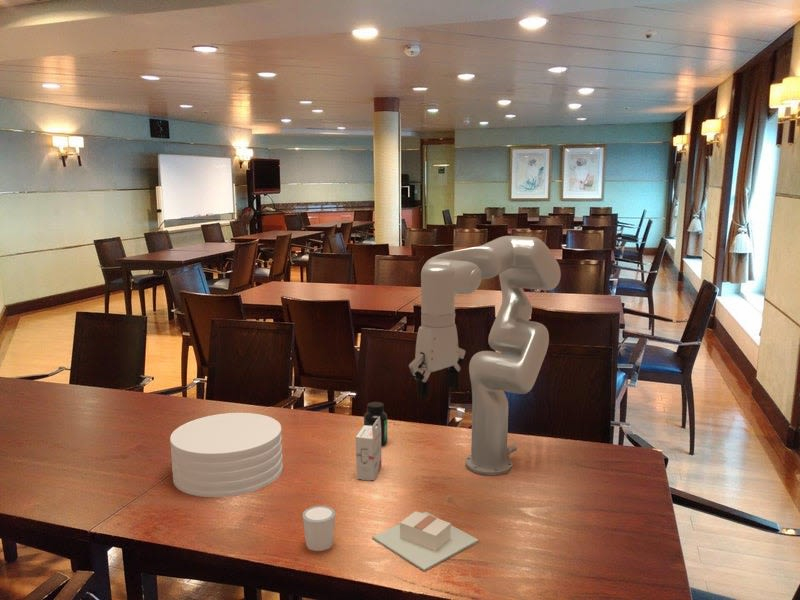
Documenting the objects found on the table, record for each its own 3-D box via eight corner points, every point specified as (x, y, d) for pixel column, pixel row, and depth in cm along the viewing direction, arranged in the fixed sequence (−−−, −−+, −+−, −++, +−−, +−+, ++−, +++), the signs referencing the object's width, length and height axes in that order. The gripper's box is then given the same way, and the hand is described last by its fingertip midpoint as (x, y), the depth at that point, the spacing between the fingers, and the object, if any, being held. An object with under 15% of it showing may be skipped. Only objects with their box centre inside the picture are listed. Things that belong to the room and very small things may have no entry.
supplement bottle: (391, 444, 187) (391, 405, 185) (372, 450, 183) (371, 410, 181) (379, 437, 193) (379, 399, 190) (359, 442, 189) (359, 403, 187)
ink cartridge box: (364, 465, 173) (363, 413, 170) (381, 467, 172) (381, 415, 169) (355, 479, 165) (354, 425, 162) (374, 481, 164) (373, 427, 161)
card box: (450, 538, 136) (450, 522, 136) (435, 551, 132) (435, 534, 131) (415, 525, 142) (415, 510, 141) (399, 537, 137) (399, 521, 136)
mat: (425, 513, 148) (425, 511, 148) (478, 541, 136) (478, 539, 136) (372, 538, 137) (372, 536, 137) (424, 571, 126) (424, 569, 125)
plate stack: (304, 471, 170) (302, 430, 168) (209, 509, 150) (206, 463, 148) (244, 442, 189) (242, 405, 187) (153, 473, 169) (150, 432, 167)
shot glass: (304, 535, 138) (303, 505, 137) (336, 534, 139) (335, 504, 138) (302, 553, 132) (301, 522, 131) (335, 552, 132) (335, 520, 131)
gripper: (452, 311, 153) (451, 380, 156) (398, 323, 141) (399, 397, 145) (475, 316, 147) (475, 387, 151) (422, 329, 136) (422, 405, 139)
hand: (438, 392), depth 148 cm, fingers open, 9 cm apart
